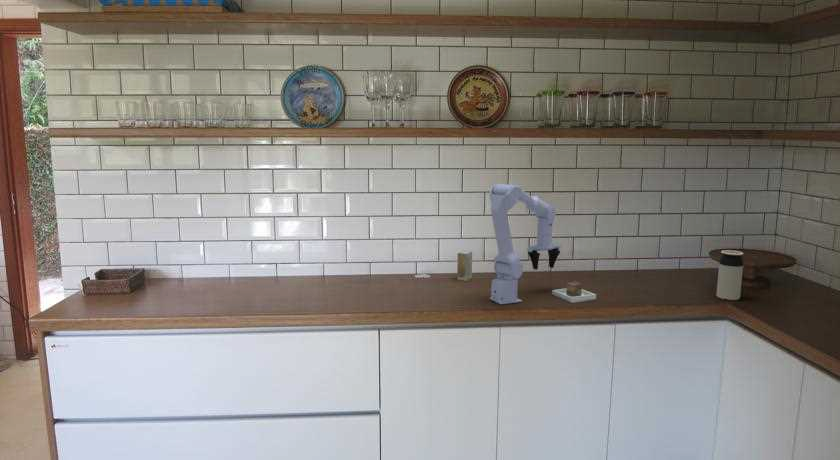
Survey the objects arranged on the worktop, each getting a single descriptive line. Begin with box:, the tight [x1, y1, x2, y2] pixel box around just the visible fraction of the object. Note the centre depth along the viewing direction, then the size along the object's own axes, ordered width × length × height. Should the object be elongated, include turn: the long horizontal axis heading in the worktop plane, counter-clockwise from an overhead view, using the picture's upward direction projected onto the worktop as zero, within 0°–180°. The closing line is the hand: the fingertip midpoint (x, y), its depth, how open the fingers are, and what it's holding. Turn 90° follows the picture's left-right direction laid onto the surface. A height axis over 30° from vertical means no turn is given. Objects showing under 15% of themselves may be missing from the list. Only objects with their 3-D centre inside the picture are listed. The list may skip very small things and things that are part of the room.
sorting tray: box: [551, 287, 597, 304], centre depth 213 cm, size 12×12×2 cm
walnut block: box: [566, 281, 583, 297], centre depth 212 cm, size 4×4×5 cm
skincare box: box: [456, 250, 473, 282], centre depth 239 cm, size 6×4×12 cm
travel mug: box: [716, 249, 745, 301], centre depth 212 cm, size 8×8×18 cm
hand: (543, 268), depth 220 cm, fingers open, 7 cm apart
